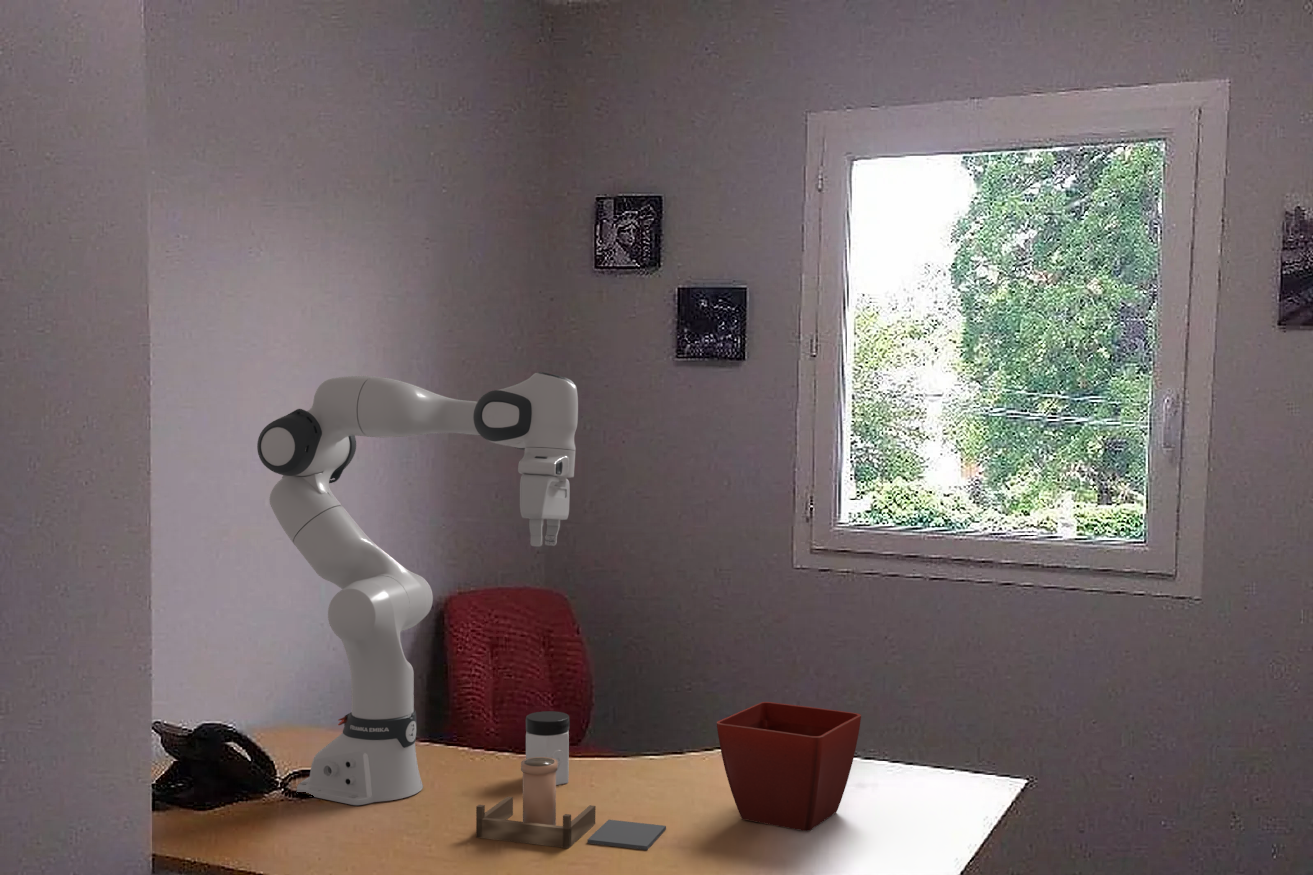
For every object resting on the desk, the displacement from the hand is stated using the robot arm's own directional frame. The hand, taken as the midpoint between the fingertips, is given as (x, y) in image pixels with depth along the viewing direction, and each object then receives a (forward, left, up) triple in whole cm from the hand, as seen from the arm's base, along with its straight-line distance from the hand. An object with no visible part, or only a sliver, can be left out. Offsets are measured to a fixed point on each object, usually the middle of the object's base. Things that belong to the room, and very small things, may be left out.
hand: (543, 546), depth 207 cm
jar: (-6, +15, -46) cm, 49 cm away
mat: (+18, -9, -46) cm, 50 cm away
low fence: (+3, -10, -46) cm, 47 cm away
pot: (+3, -10, -46) cm, 47 cm away
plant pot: (+41, +9, -46) cm, 62 cm away
